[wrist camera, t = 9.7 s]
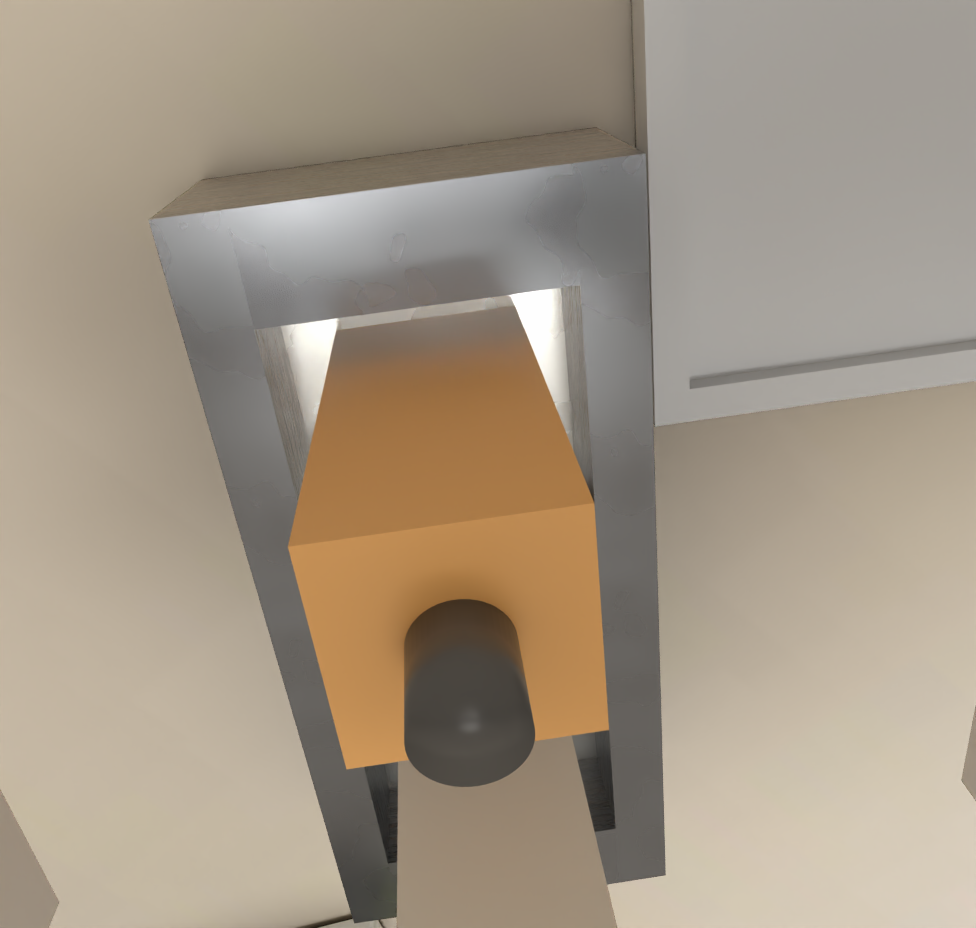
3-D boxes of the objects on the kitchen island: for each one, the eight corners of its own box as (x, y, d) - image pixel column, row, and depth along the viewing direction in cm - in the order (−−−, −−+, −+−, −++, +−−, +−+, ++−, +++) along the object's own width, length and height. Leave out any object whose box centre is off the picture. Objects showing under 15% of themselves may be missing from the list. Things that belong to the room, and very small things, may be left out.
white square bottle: (545, 626, 26) (644, 1040, 15) (557, 735, 28) (650, 1166, 17) (399, 647, 26) (395, 1080, 15) (421, 755, 28) (431, 1202, 17)
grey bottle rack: (596, 127, 22) (645, 153, 17) (628, 756, 32) (665, 875, 27) (201, 179, 21) (148, 220, 17) (361, 797, 32) (354, 923, 27)
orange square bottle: (515, 305, 21) (625, 581, 11) (531, 464, 23) (636, 827, 13) (336, 329, 21) (268, 633, 11) (368, 487, 23) (338, 873, 13)
